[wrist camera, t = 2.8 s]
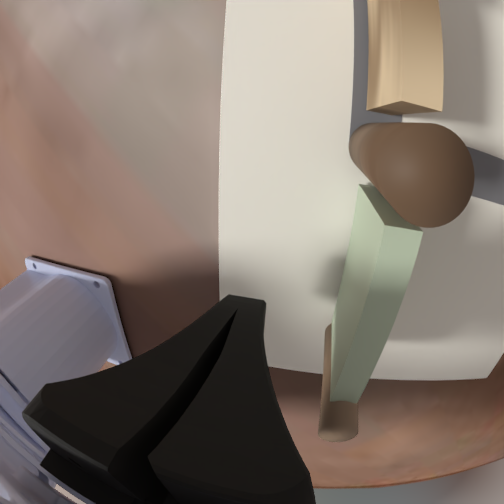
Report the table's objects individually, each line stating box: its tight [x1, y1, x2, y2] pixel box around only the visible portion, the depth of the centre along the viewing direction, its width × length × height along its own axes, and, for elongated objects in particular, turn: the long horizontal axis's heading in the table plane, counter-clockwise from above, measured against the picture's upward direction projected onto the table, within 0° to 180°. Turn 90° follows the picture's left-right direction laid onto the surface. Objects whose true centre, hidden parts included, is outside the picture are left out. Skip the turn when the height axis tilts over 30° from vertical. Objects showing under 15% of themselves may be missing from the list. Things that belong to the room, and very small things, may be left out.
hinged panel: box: [318, 184, 423, 442], centre depth 9 cm, size 8×1×6 cm, turn 178°
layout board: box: [219, 0, 504, 380], centre depth 9 cm, size 18×24×1 cm
